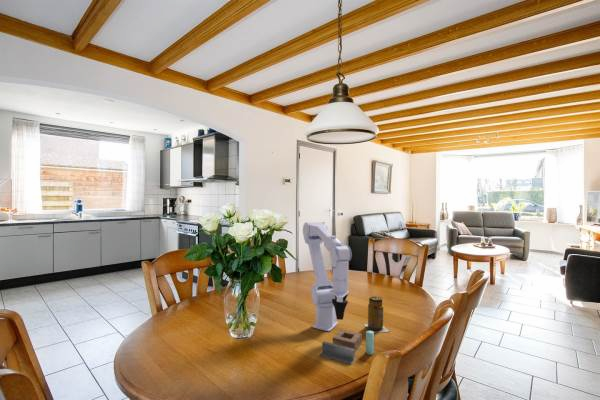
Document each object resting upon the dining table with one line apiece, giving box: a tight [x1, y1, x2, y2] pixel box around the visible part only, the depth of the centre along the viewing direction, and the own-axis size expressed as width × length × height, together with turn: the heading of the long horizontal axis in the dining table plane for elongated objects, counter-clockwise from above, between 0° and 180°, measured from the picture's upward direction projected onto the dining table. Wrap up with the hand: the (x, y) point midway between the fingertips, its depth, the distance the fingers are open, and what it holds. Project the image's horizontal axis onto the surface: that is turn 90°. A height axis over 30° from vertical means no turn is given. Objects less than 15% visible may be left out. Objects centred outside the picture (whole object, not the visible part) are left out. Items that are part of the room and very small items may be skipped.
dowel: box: [365, 330, 375, 356], centre depth 105 cm, size 3×3×7 cm
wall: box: [319, 341, 356, 365], centre depth 101 cm, size 3×11×4 cm, turn 61°
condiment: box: [363, 296, 390, 334], centre depth 125 cm, size 7×8×12 cm
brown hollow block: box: [332, 328, 363, 353], centre depth 110 cm, size 8×8×4 cm
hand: (340, 315), depth 113 cm, fingers open, 7 cm apart
